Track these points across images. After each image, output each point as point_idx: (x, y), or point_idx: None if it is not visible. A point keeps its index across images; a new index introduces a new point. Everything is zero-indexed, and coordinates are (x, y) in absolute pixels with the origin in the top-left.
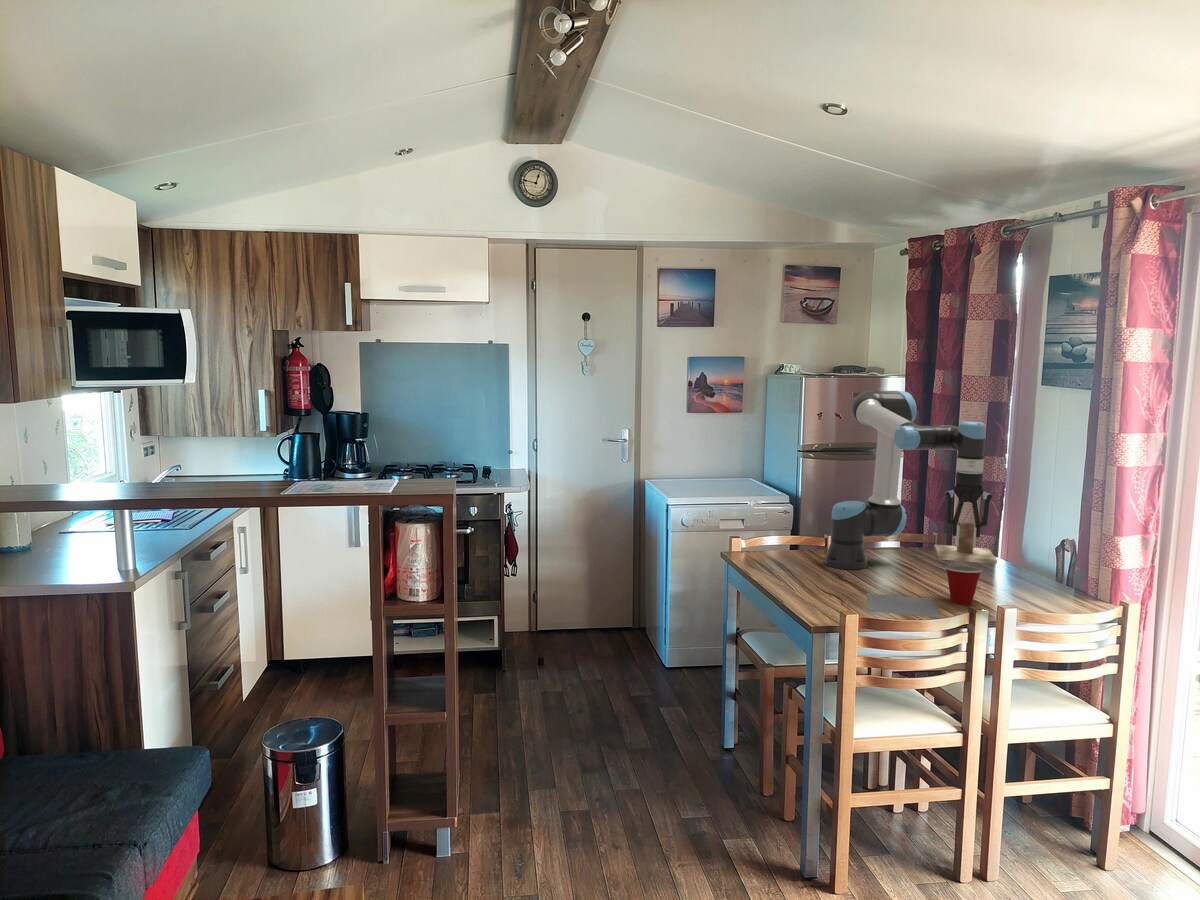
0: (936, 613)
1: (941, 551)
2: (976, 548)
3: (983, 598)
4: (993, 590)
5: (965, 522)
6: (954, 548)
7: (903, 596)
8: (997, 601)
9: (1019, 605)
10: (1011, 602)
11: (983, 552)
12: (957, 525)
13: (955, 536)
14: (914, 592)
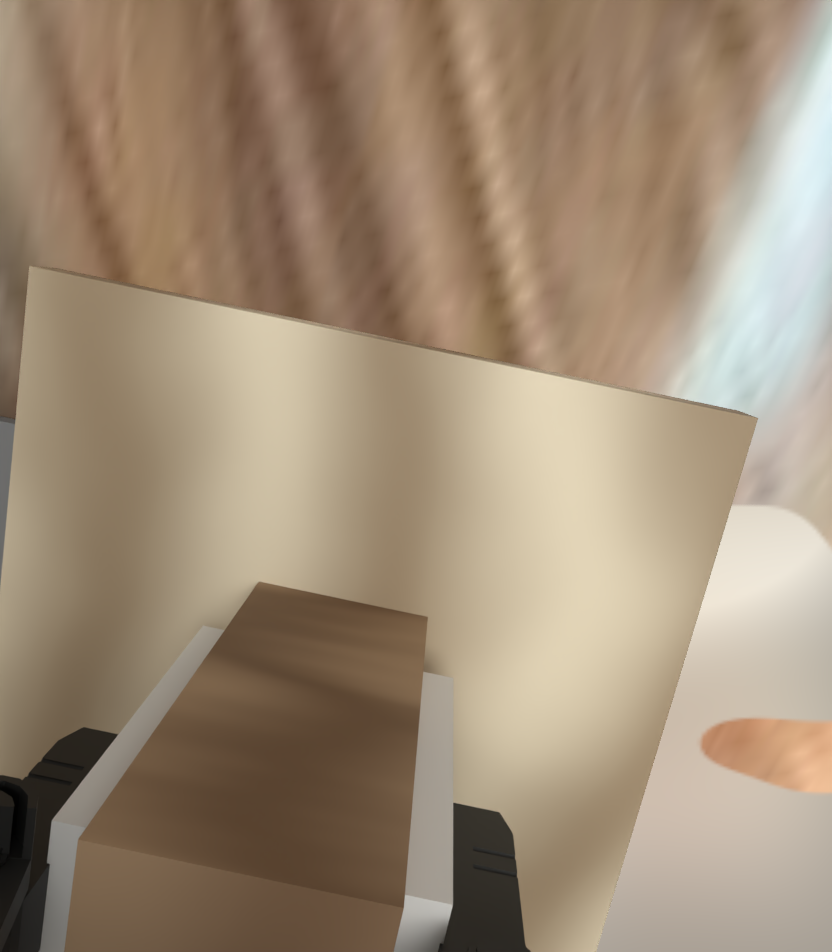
0: None
1: (37, 692)
2: (571, 443)
3: (612, 314)
4: (806, 40)
5: (225, 915)
6: (252, 492)
7: (1, 423)
8: (687, 383)
9: (807, 465)
10: (784, 395)
11: (570, 676)
12: (63, 891)
13: (152, 698)
14: (123, 221)
